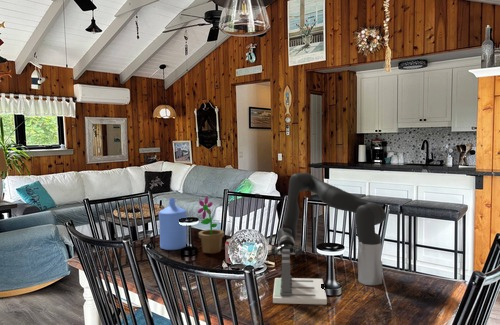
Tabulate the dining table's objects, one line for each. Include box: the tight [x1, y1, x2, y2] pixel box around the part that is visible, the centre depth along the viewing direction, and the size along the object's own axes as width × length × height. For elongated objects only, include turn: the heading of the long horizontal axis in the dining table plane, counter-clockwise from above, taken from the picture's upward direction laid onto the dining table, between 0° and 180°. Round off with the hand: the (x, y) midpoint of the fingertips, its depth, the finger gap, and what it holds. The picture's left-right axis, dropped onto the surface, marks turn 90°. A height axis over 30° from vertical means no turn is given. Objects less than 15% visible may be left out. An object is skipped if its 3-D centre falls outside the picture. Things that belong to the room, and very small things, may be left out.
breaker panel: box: [272, 277, 328, 305], centre depth 150 cm, size 20×20×2 cm
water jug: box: [158, 198, 188, 251], centre depth 218 cm, size 16×16×28 cm
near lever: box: [280, 259, 292, 296], centre depth 143 cm, size 4×4×12 cm
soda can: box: [224, 238, 231, 264], centre depth 186 cm, size 7×7×12 cm
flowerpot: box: [197, 196, 225, 254], centre depth 208 cm, size 14×14×30 cm
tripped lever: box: [280, 249, 293, 281], centre depth 157 cm, size 4×4×12 cm
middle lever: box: [281, 254, 292, 288], centre depth 150 cm, size 4×4×12 cm
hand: (286, 254), depth 168 cm, fingers open, 8 cm apart
